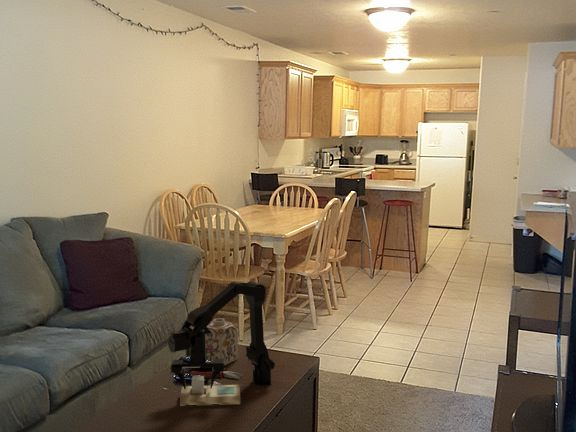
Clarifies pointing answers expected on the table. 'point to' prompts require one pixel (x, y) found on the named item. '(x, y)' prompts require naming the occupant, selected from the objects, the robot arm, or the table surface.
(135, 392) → the table surface
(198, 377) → the steel block
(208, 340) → the decorative jar
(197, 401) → the beige slotted block
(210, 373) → the pliers
